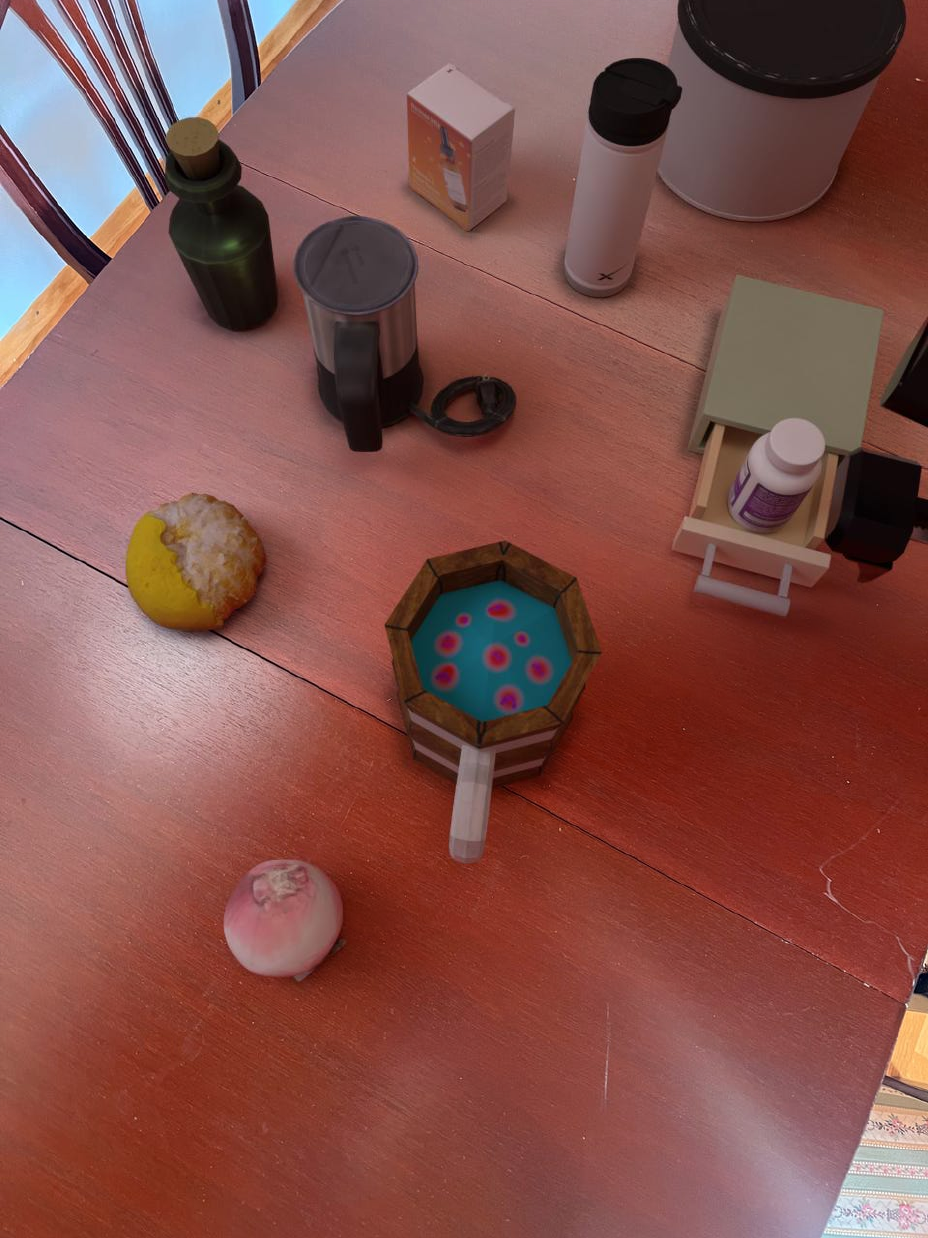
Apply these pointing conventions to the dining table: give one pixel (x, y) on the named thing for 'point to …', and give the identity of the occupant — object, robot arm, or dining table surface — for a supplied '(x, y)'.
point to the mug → (488, 673)
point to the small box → (459, 145)
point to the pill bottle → (777, 476)
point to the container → (771, 98)
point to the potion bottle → (219, 227)
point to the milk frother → (377, 334)
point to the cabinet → (790, 364)
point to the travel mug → (617, 172)
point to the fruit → (193, 563)
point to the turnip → (283, 919)
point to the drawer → (735, 546)
